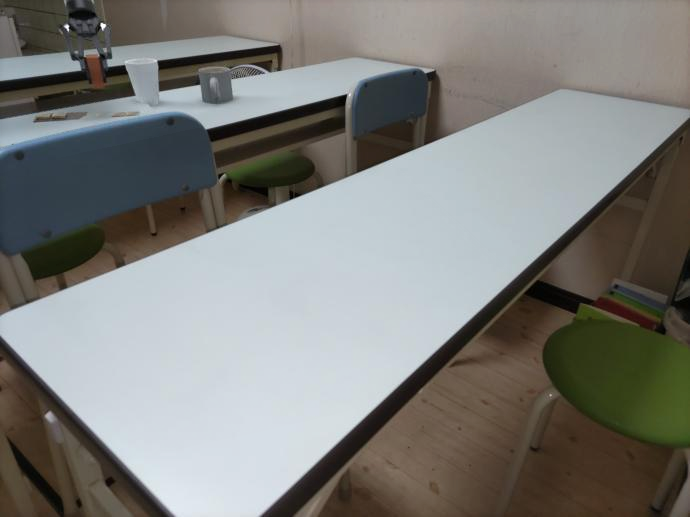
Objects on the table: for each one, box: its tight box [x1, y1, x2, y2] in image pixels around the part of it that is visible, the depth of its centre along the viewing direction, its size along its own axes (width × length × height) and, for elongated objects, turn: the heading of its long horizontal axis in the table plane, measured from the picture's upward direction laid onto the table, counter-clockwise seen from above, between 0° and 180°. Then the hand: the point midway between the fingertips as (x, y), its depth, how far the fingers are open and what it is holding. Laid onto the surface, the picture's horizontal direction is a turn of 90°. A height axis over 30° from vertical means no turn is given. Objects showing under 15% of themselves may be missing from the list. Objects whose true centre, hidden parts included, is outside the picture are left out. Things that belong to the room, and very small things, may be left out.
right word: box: [96, 111, 140, 118], centre depth 147 cm, size 12×8×2 cm, turn 106°
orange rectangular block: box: [85, 53, 106, 89], centre depth 140 cm, size 3×5×8 cm, turn 26°
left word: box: [33, 111, 89, 123], centre depth 145 cm, size 13×8×2 cm, turn 106°
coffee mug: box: [198, 66, 234, 104], centre depth 165 cm, size 13×10×10 cm
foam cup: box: [124, 58, 160, 107], centre depth 160 cm, size 10×9×13 cm
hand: (97, 80), depth 138 cm, fingers closed on orange rectangular block, 3 cm apart
